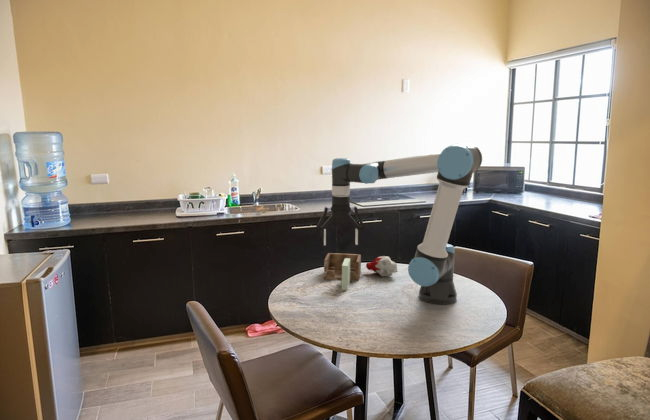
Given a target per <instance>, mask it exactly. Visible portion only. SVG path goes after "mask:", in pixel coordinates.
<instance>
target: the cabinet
mask: <svg viewBox="0 0 650 420" xmlns="http://www.w3.org/2000/svg"><path fill="white" fill-rule="evenodd" d="M345 258H350V281H354V282H355V281H357V282H358V281H359V280H360V276H361V274H362V272H361V271H362V270H361V269H362V268H361V267H362V266H361V265H362V254H359V253H358V254H356V253H340V252H339V253H337V252H335V253H333V252H327V254H326V256H325V258H324V260H323V274H324V275H323V279H324V280H335V279H337V280H339V281H342V264H343V262H344V259H345Z"/></svg>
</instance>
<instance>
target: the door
mask: <svg viewBox="0 0 650 420" xmlns="http://www.w3.org/2000/svg"><path fill="white" fill-rule="evenodd" d="M350 284H351V280H350V258H345V259H344V262H343V264H342V280H341V290H342V291H348V290H349V286H350Z"/></svg>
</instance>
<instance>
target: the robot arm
mask: <svg viewBox="0 0 650 420" xmlns="http://www.w3.org/2000/svg"><path fill="white" fill-rule="evenodd" d="M331 161H332V162H331V195H332V196H331V207H329V206H324V209H323V213H322V214H321V217H320V219H319V220H318V223H317V225H316V229H318V230H320V237H321V238H323V246H324V247H325V246H326V245H327V230H326V228H327V227H328V226H329V225H330V223H331V222H332V221H333V220H334V219H335V218H337V219H338V218H343V219H344V218H348V219H349V220H350V222H351V223H352V224H353V225H354V226H355V234H354V235H355V238H354V240H355V241H354V242H355V243H354V244H355V246H358V245H359V238H361V231H362V229H365V227H366V226H365V223H364V221H363V220H362V218H361V216H360V214H359V213H358V212H359V211H358V206H357V205H354V206H351V199H350V198H351V196H350V194H351V190H350V189H351V183H360V184H365V185H367V184H375V183H376V182H377V180H378V181H379V180H386V179H395V178H403V177H411V176H418V175H428V174H434V173H435V174H436V173H437V175H436V180H437V181H438V183H439V184H438V187H437V191H436V194H435V198H434V201H433V206H432V209H431V212H430V215H429V219H428V223H427V225H426V226H427V227H426V229H425V230H426V231H425V233H424V237H423V239H422V242H421V243H420V244H418V245H417V247H416V251H415V254H414V257H413V258H411V261H410V262H409V263H408V267H407V271H408V272H407V273H408V275H409V277H410V278H411V280H412V282H414V283H415V284H417V285H418V286H420V288H419V290H418V297H419V299H420V300H422V301H424V302H425V303H430V304H435V305H450V304H453V303H455V302H456V301H457V290H456V286H455V284H454V272H455V255H456V252H455V251H456V249H455V246H454V245H452V244H450V243H448V242H449V239H450V235H451V231H452V228H453V225H454V223H455V218H456V214H457V213H458V208H459V205H460V201H461V200H462V199H461V198H462V195H463V192H464V190H465V189H466V188H468V187H469V186H470V184H471V181H472V177H473V174H474V173H476V172H477V171H478V170H479V169H480V167H481V165H482V162H483V155H482V151H481V150H480V148H478V147H477V145H475V144H472V143H468V142H467V143H466V142H465V143H455V144H451V145H448V146H447V147H445V148H444V149H443V150H442V151H441V152H435V153H428V154H422V155H414V156H408V157H401V158H396V159H395V158H394V159H389V160H387V159H386V160H381V161H380V160H379V161H374V162H368V163H361V164H360V163H351V160H350V158H348V157H339V158H338V157H336V158H334V159H332V160H331ZM330 211H331V213H332V214H331V215H330V216H329V217H328V218H327V220H326V221H325V219H326V217H327V214H328V213H329V212H330ZM351 211H352V212H353V213H354V214H355V216H356V218H357V220H358V222H359V224H360V225H359V224H358V223H357V222H356V220H355V219H354V218H353V217H352V216H351V214H350V212H351ZM324 221H325V222H324ZM323 222H324V223H323Z"/></svg>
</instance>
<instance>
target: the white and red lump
mask: <svg viewBox="0 0 650 420" xmlns="http://www.w3.org/2000/svg"><path fill="white" fill-rule="evenodd" d="M397 265H398V264H397V263H396V262H395V261H393V260H391V257H390V256H385V255H382V256H381V255H380V256H377V257H376V258H375V259H374V260H373V261H371V262H367V263H366V264H365V267H366V269H367V270H368V271H372V272H373V273H374V272H375V274H377V275H380V276H381V277H391V276H392V275H393V274H394V273H398V266H397Z"/></svg>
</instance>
